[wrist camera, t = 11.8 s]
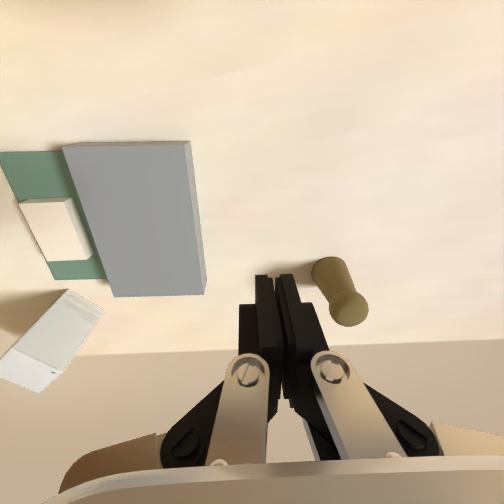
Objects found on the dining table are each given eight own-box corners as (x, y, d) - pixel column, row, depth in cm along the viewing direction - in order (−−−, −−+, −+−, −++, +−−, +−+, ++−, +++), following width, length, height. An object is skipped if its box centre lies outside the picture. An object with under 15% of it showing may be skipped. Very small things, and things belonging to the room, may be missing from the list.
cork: (317, 290, 46) (337, 338, 36) (306, 264, 43) (324, 309, 34) (350, 278, 45) (379, 324, 35) (341, 251, 42) (370, 293, 33)
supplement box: (68, 287, 44) (10, 347, 33) (106, 311, 47) (64, 373, 36) (46, 309, 46) (-15, 373, 35) (84, 331, 49) (38, 396, 38)
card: (63, 201, 34) (72, 197, 36) (18, 203, 34) (29, 199, 36) (87, 259, 39) (93, 252, 40) (47, 261, 39) (55, 254, 40)
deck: (80, 142, 33) (61, 146, 29) (190, 140, 33) (184, 144, 30) (124, 282, 44) (114, 297, 40) (206, 279, 44) (203, 294, 41)
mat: (-4, 152, 33) (-6, 152, 33) (75, 150, 33) (74, 151, 33) (56, 279, 43) (55, 280, 43) (116, 277, 43) (115, 278, 43)
